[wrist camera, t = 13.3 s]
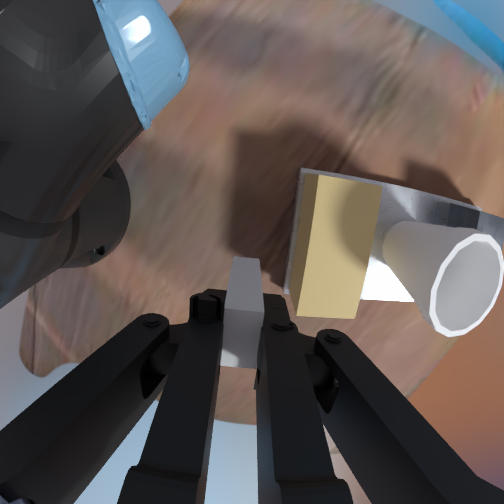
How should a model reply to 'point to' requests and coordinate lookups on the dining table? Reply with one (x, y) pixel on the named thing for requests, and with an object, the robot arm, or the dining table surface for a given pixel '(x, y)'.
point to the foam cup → (446, 272)
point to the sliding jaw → (333, 246)
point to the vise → (393, 212)
